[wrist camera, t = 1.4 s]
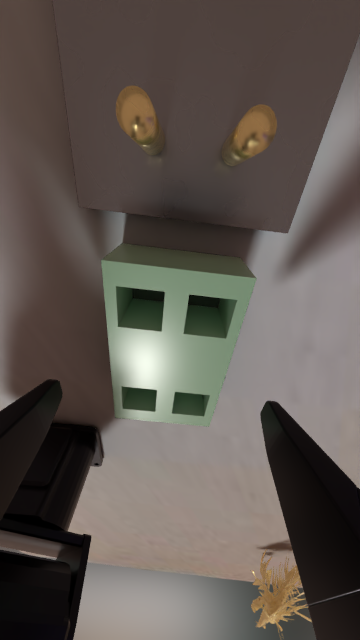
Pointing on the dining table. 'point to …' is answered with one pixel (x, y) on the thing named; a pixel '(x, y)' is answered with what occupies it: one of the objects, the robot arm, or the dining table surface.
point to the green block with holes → (171, 330)
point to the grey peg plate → (201, 103)
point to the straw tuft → (276, 605)
